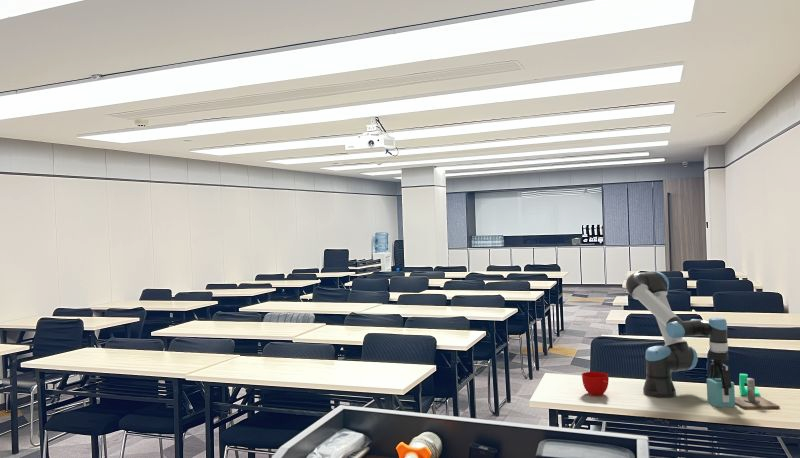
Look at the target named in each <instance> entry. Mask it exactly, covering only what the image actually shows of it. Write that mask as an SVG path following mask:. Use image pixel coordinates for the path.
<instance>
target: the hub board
mask: <svg viewBox="0 0 800 458" xmlns="http://www.w3.org/2000/svg"><path fill="white" fill-rule="evenodd" d="M746 384H747V385H746V387H747V391H748V396H744V395H742V396H735V406H738V407H739V408H741V409H742V410H768V409H769V410H773V409H775V410H777V409H778V410H780V409H781V406H780V405H779V404H776V403H774V402H772V401H770V400H768V399H766V398H764V397H762V396H761V395H760V396H755V387H756V385H755V379H754V378H752V377H748V378H747V383H746Z"/></svg>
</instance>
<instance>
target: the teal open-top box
mask: <svg viewBox="0 0 800 458" xmlns="http://www.w3.org/2000/svg"><path fill="white" fill-rule="evenodd" d="M731 386H732V388H729V402H722V388H721V387H723V385H722V381H721V377H720V378H714V379H709V378H706V394H707V395H706V396H707V397H706V398H707V402H708V404H711V405H712V406H714V407H716V408H729V407H731V408H732V407H733V408H734V407H736V405H735V397H736V395H735V382H733V381H731Z"/></svg>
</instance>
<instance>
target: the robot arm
mask: <svg viewBox="0 0 800 458" xmlns="http://www.w3.org/2000/svg"><path fill="white" fill-rule="evenodd" d="M625 288H626V290H627V293H628V294H629V295H630V296H631V298H632V299H634V300H638V301H639V302H640V303H641V304H642V305H643V306H644V307H645V308H646V309H647V310H648V311H649V312H650V313H651V314H652V315H653V316H654V317H655V320H656V321H657V324H658V328H659V330H660V333H661V335H662V338H663V340H664V345H654V346H649V347H647V349H645V356H644V357H645V358H644V359H645V372H646V373H645V375H646V378H645V382H644V385H643V389H642V390H643V391H642V392H643V394H644V395H646V396H648V397H649V396H650V397H653V398H667V399H668V398H672V397H676V396H677V390H676V388H675V384H674V382H673V380H672V373H673V372H674V373H675V372H680V371H684V372H685V371H690V370H693V369H694V368H695V367H696V366H697V364H698V359H699V357H698V353H697V351H696V349H695V348H693V347H692V346H689V344H688V341H687V340H685V339H683V338H687V337H700V336H702V337H708V339H709V350H710V351H709V357H710V358H709V359H711V360H709V377H708V379H714V378H719V377H720V378H721V381H722V385H723V387H721V388H722V402H729V388H732V386H731V382H732V380H731V371H730V369H731V368H730V366H729V365H727V364H726V361H729V352H728V351H729V347H728V346H729V344H728V323H727V319H725V318H722V317H709V319H708V320H704V319H698V318H692V319H690V320H682V319H681V318H680V317H679V316H678V315H677V314H675V312H674V311H672V309H671V306H670V304H669V301H668V298H667V295H668V290H669V288H670V282H669V278H668V277H667V276H666V275H665V274H664V273H663V272H660V271H648V272H646V271H645V272H643V271H642V272H634V273H632V274H630V275H629V276H628V277H627V279H626V282H625ZM720 378H719V379H720Z"/></svg>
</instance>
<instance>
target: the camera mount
mask: <svg viewBox="0 0 800 458" xmlns="http://www.w3.org/2000/svg"><path fill="white" fill-rule="evenodd" d="M748 376H749V375H748V374H747V373H739V379H738V380H739V384H738V386H739V394H740V395H741V396H748V391H747V386H745V384H747V378H749V377H748ZM760 394H761V393H760V391H759V389H758V387H756V386H755V396H760V397H761V395H760Z"/></svg>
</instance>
